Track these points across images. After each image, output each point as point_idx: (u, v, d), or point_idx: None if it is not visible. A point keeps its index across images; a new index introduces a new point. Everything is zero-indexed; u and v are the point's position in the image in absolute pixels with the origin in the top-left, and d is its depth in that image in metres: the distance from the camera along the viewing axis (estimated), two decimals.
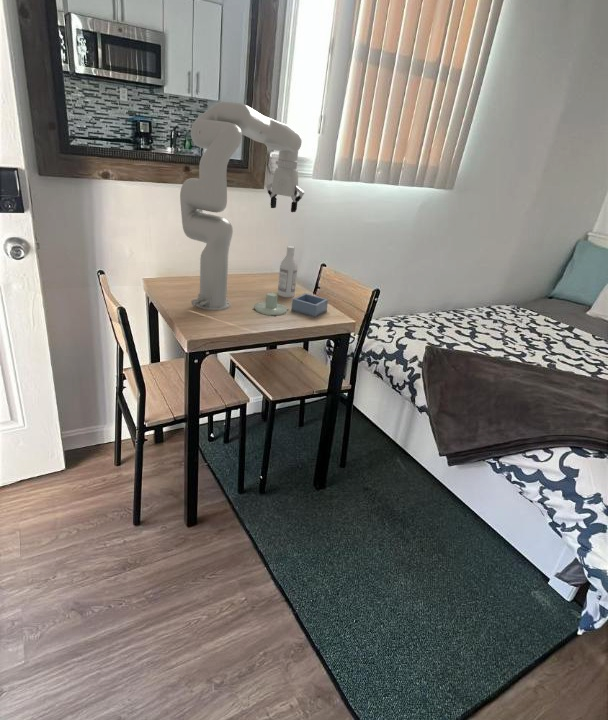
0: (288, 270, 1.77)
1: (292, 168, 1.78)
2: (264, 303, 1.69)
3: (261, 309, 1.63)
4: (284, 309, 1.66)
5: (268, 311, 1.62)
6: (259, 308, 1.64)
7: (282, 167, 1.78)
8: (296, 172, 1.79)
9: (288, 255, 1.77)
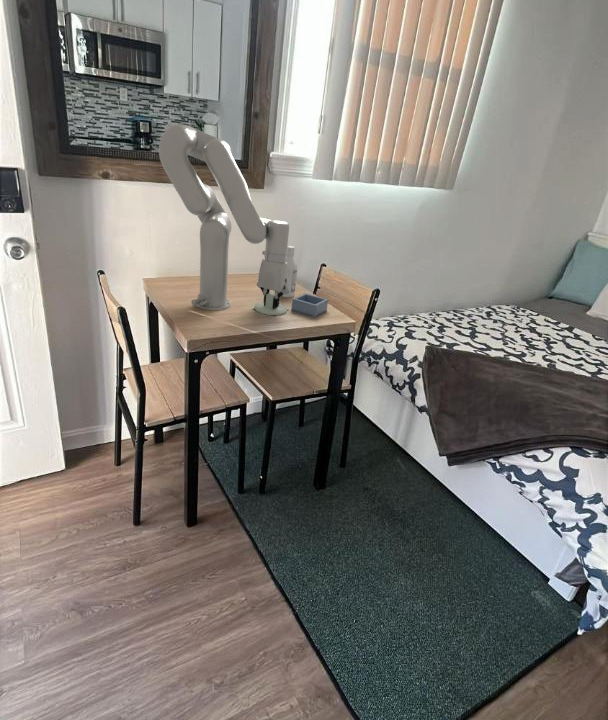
0: (288, 270, 1.77)
1: (281, 261, 1.56)
2: None
3: (261, 309, 1.63)
4: (284, 309, 1.66)
5: (268, 311, 1.62)
6: (259, 308, 1.64)
7: (269, 260, 1.56)
8: (285, 265, 1.57)
9: (288, 255, 1.77)
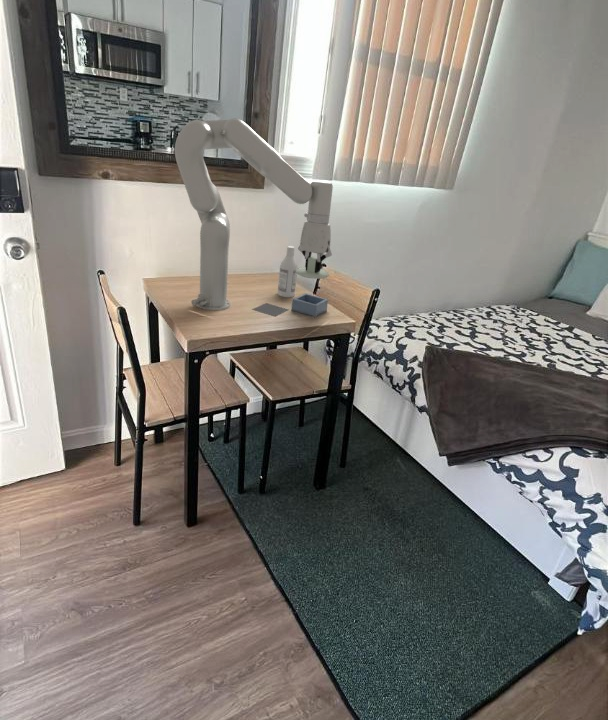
0: (288, 270, 1.77)
1: (324, 222, 1.53)
2: (305, 268, 1.67)
3: (303, 273, 1.61)
4: (326, 273, 1.63)
5: (311, 274, 1.60)
6: (301, 272, 1.62)
7: (313, 222, 1.53)
8: (329, 226, 1.55)
9: (288, 255, 1.77)
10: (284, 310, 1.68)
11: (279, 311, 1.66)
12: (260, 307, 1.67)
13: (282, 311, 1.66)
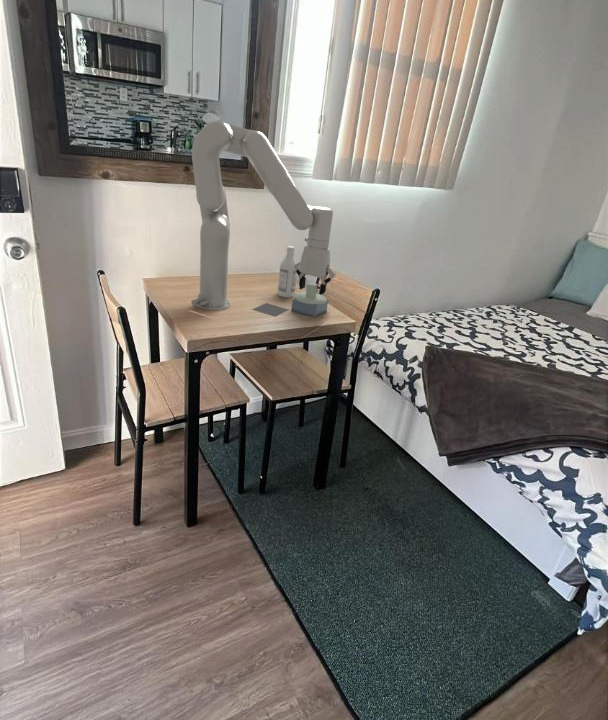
0: (288, 270, 1.77)
1: (324, 248, 1.58)
2: (303, 293, 1.72)
3: (302, 298, 1.65)
4: (324, 299, 1.68)
5: (309, 300, 1.64)
6: (300, 298, 1.66)
7: (313, 247, 1.57)
8: (328, 251, 1.59)
9: (288, 255, 1.77)
10: (284, 310, 1.68)
11: (279, 311, 1.66)
12: (260, 307, 1.67)
13: (282, 311, 1.66)
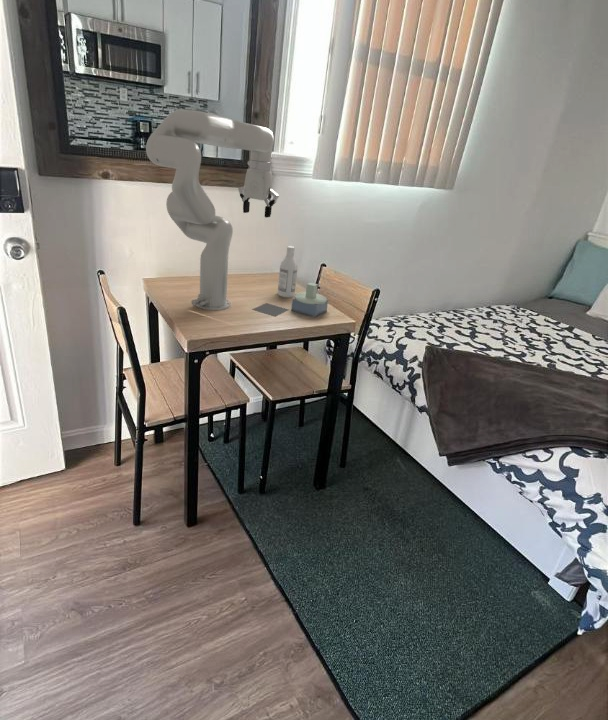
0: (288, 270, 1.77)
1: (265, 169, 1.62)
2: (303, 293, 1.72)
3: (302, 298, 1.65)
4: (324, 299, 1.68)
5: (309, 300, 1.64)
6: (300, 298, 1.66)
7: (254, 168, 1.62)
8: (269, 174, 1.64)
9: (288, 255, 1.77)
10: (284, 310, 1.68)
11: (279, 311, 1.66)
12: (260, 307, 1.67)
13: (282, 311, 1.66)
